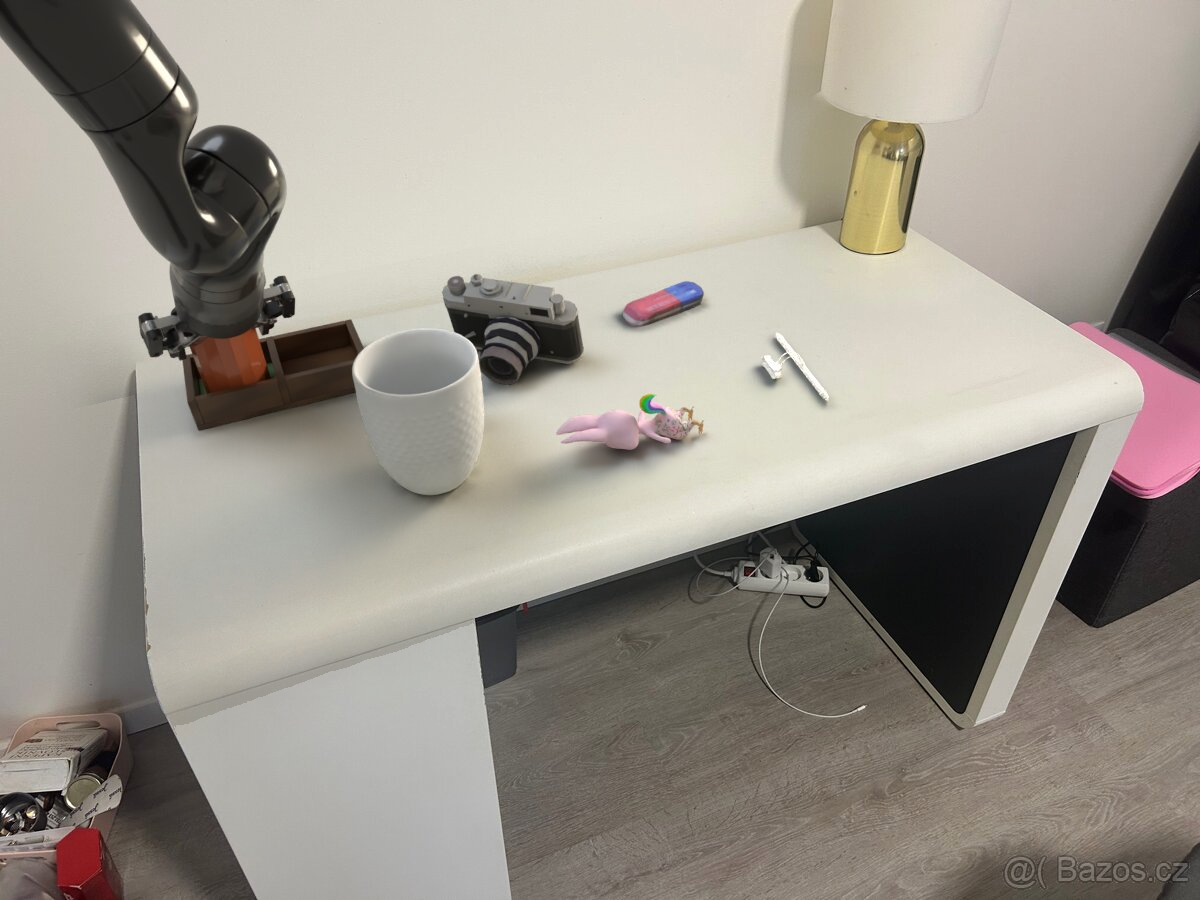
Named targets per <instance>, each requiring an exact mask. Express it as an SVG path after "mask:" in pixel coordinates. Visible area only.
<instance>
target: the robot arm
mask: <svg viewBox="0 0 1200 900" xmlns="http://www.w3.org/2000/svg"><path fill="white" fill-rule="evenodd" d="M0 39H1V40H2V41H3V43H5V45H6V46H7V47H8V48H9V50H10V51H11V52H12V53H13V54H14V55H15V57H16V58H17V59H18V60H19V62H21V63H22V65H23V66H24V67H25V68H26V70H28V72H29V73H30V74H31V75H32V76H33V78H35V80H36V81H37V82H38V83H39V84H40V85H41V86H42V87H43V89H44V90H46V92H47V93H48V94H49V95H50V96H51V97H52V98H53V100H54V101H55V102H56V103H57V104H58V105H59V107H61V108H62V109H63V110H64V112H66V114H67V115H68V116H69V117H70V118H71V119H72V120H73V121H74V123H76V125H77V126H78V127H79V128H80V129H81V130H82V131H83V133H84V134H86V136H87V137H88V138H89V139H90V141H91V142H92V143H93V146H94V147H95V148H96V150H97V152H98V154H99V155H100V158H101V159H102V162H103V163H104V165H105V167H106V168H107V171H108V172H109V174H110V175H111V178H113V181H114V183H115V185H116V186H117V189H118V191H119V193H120V196H121V197H122V199H123V201H124V203H125V206H126V207H127V209H128V211H129V213H130V215H131V217H132V219H133V221H134V222H135V224H136V226H137V227H138V229H139V230H140V232H141V234H142V235H143V236H144V238H145V239H146V240H147V242H148V243H149V244H150V245H151V247H152V248H153V249H154V251H156V252H157V253H158V254H159V255H161V257H163V258H164V259H165V260H166V261H168V262H169V263H170V264H169V269H168V270H169V271H168V272H169V273H168V274H169V281H170V287H171V292H172V297H173V302H174V308H172V310H171V311H170V315H167V316H163V317H159V316H158V315H153V313H152V312H144V313H141V314H140V315H138V317H137V319H138V328H139V334H140V337H141V339H142V340H143V342H144V345H145V347H146V349H147V353H148V355H149V357H150V358H158V357H160V356H162V355H164V351H167V352H168V355H169V357H170V358H171V359H176V358H178V360H179V362H181V361H182V360H184V359H187V357H186V355H187V352H186V348H190V347H192V346H197V345H199V344H200V343H202V342H203V341H204V340H206V339H207V338H209V337H210V338H217V339H226V338H233V337H236V336H239V335H241V334H243V333H245V332H247V331H248V330H249V329H251V328H256V329H258V330H259V333H260V335H261V336H262V337H263V336H267V335H270V330H272V329H273V328H275V324H276V323H277V322H278V318H279V317H281V316H282V318H283V319H290V318H292V317H294V316H295V315H296V296H295V295H294V293H293V291H292V288H291V285H290V283H289V281H288V279H287V276H286V275H279V276H276V277H275V278H274V279H273V283H270V284H269V285H268V286H269V287H267V288H265V287H266V285H267V279H266V274H265V267H264V259H265V251H266V247H267V245H268V242H269V240H270V239H271V237H272V234H273V233H274V231H275V229H276V227H277V224H278V222H279V219H280V217H281V215H282V213H283V210H284V207H285V204H286V201H287V195H288V186H287V180H286V175H285V171H284V170H283V167H282V165H281V162H280V161H279V159H278V158H277V155H276V154H275V153H274V151H273V150H272V149H271V147H270V146H269V145H268V144H267V143H266V142H265V141H263V140H262V139H261V138H260V137H258V136H256V135H255V134H254V133H253V132H251V131H248V130H247V129H244V128H241V127H239V126H235V125H230V124H229V125H228V124H215V125H211V126H208V127H205V128H203V129H201V130H200V131H198V132H197V133H196V134H194V135H193V136H192V137H191V135H192V133H193V131H194V129H195V126H196V123H197V120H198V116H199V111H200V101H199V98H198V94H197V92H196V89H195V88H194V86H193V83H191V81H190V80H189V78H188V77H187V75H186V74H185V72H184V71H183V69H182V68H181V67H180V65H179V63H178V62H177V61H176V60H175V58H174V56H173V55H172V54H171V53H170V52H169V50H168V49H167V47H166V45H165V44H164V43H163V42H162V40H161V39H160V37H159V36H158V35H157V34H156V32H155V30H154V29H153V28H152V26H151V25H150V23H148V21H147V19H146V18H145V16H143V15H142V13H141V12H140V10H139V9H138V8H137V6H136V5H135V4H134V2H133V1H132V0H0ZM190 137H191V138H190ZM194 333H196V334H195V335H194Z"/></svg>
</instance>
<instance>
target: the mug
mask: <svg viewBox="0 0 1200 900" xmlns="http://www.w3.org/2000/svg"><path fill="white" fill-rule="evenodd" d="M477 350H478V349H476V348H475V347H474V345H473V344H472V343H471V342H470V341H469V340H468V339H466V338H465V337H463V336H461V335H460V334H457V333H455V332H454V331H451V330H447V329H441V328H428V327H427V328H426V327H425V328H423V327H422V328H421V327H420V328H412V329H406V330H400V331H396V332H393V333H389V334H387V335H385V336H382V337H379V338H378V339H376V340H373V341H372V342H371V343H369V344H367V345H366V346H365V347H364V349H363V350H362V351H361V352H360V353H359V354H358V355H357V357H356V359H355V361H354V363H353V366H352V375H353V380H354V385H355V390H356V392H355V396H356V399H357V403H358V409H359V412H360V416H361V420H362V423H363V425H364V430H365V434H366V436H367V438H368V442H369V444H370V447H371V448H372V451H373V453H374V455H375V456H376V458H377V460H378V462H379V463H380V465H381V466H382V468H383V469H384V471H385V472H386V473H387V474H388V475H389V477H390V478H391V479H392V480H394V482H396V483H397V484H398V485H400V486H401V487H403V489H406V490H407V491H409V492H412V493H414V494H418V495H422V496H438V495H442V494H445V493H449V492H451V491H453V490H455V489H457V488H458V487H460V486H461V485H462V484H463V483H464V482H465V481H466V480H467V479H468V478H469V477H470V475H471V474H472V472H473V470H474V468H475V466H476V464H477V461H478V460H479V456H480V452H481V451H482V450H481V449H482V444H483V443H482V442H483V439H484V436H483V435H484V431H485V427H484V425H485V406H484V394H483V393H484V392H483V382H482V372H481V370H480V367H479V360H480V359H479V355H478V351H477Z"/></svg>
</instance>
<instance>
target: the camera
mask: <svg viewBox="0 0 1200 900" xmlns="http://www.w3.org/2000/svg"><path fill="white" fill-rule="evenodd" d="M441 294H442V299H443V303H444V306H445V308H446V311H447V313H448V317H449V320H450V323H451V326H452V329H453V332H455V333H457V334H460V335H461V336H463V337H465V338H466V339H468V340H469V341H470V342H471V343H472V344H473V345H474V347H475V348H476V350H479V351H480V358H479V359H478V360H479V367H480V372H481V374H483V375H484V376H485V377H486V378H488V380H491V381H493V382H494V383H497V384H500V385H512V384H514V383H517V382H518V380H520V377H521V375H522V374H524V373H525V371H526V369H527V367H528V365H529V364H530V362H532V361H533V360H534V359H536V360H542V361H549V362H554V363H561V364H567V365H570V364H573V363H576V362H578V361H580V360H581V359H582V358H583V356H584V351H585V347H584V342H583V337H582V330H581V326H580V319H579V310H578V307H577V306H576V304H575V303H574V302H572V301H570V300H566V299H564V296H563V295H562V294H560V293H556V291H555V287H551V286H543V285H537V284H536V285H535V284H532V282H530V283H522V282H515V281H512V280H510V281H507V280H502V279H494V278H486V277H483V276H482V275H481V274H479V273H474V274H473V275H471V277H470V281H469V282H465V280H464V278H463V277H462V276H460V275H455V276H452V277H450V278H449V279H448V280H447V282H446V285H444V286H443V288H442V291H441Z"/></svg>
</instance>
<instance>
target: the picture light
mask: <svg viewBox="0 0 1200 900" xmlns="http://www.w3.org/2000/svg"><path fill="white" fill-rule="evenodd" d="M775 338H776V340H777V342H778V343H779V344H780V345H781V346H782V347H783V349H784V350H785V351H786V352H784V353H783V354H782V355H781V356H780V357H778V360H777V361H774V360H773V359H772V357H771V355H764V356H760V362H761V365H762V367H764V368H765V370H766V371H767V372H768V374H769V375H770V377H771V379H772V380H775V379H781V378H782V373H781V371H782V370H783V368H782V365H783V364H784V363H785V362H786V360H788V359H790V358H791V359H792V360H793V361H794V363H795V364H796V366H797V367H798V368H799V369H800V370H801V372H802V373H803V375H804V376H805V377H806V379H807V380H808V381H809V383H810V384H811V385H812V387H814V389H815V390H816V391H817V393H818V394H819V396H820V397H821V398H822V399H823V400H825V401H827V402H829V401H830V397H829V394H828V392H827V391H826V390H825V389H824V387H822V385H821V383H819V381H818V380H817V378H815V376H814V375H813V374H812V372H811V370H809V369H808V367H807V366H806V362H805V361H804V360H803V358H802V357H801V355H800V354H799V353H798V352H796V351H794V349H793V348H792V347H791V346H790V344H789V343H788V342H787V341H786V340H785V338H784V336H783V335H782V334H780V333H778V332H775ZM787 354H788V355H789V356H788V357H786V358H785V359H784V360H783V361H782V362H781V363H780V364H779V362H780V360H781V358H783V357H784V356H785V355H787Z"/></svg>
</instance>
